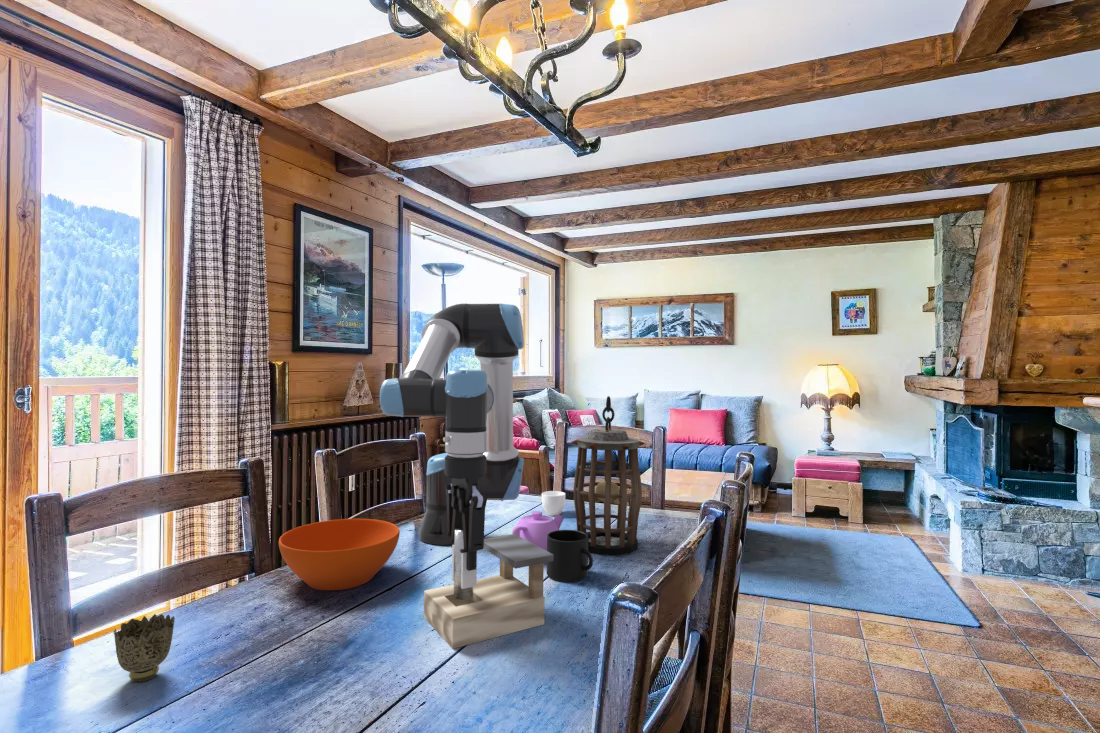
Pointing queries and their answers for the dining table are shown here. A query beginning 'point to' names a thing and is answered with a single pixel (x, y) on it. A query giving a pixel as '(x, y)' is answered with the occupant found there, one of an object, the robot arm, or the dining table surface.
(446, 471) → the robot arm
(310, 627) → the dining table surface
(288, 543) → the bowl
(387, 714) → the dining table surface
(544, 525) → the teapot
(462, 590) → the peg
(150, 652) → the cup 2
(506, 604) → the socket porch
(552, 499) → the cup
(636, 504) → the lantern
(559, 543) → the mug
